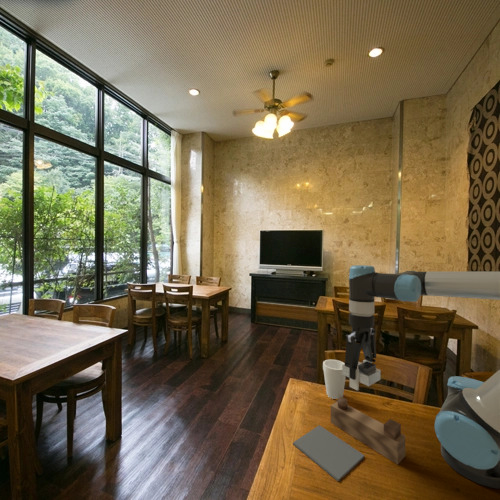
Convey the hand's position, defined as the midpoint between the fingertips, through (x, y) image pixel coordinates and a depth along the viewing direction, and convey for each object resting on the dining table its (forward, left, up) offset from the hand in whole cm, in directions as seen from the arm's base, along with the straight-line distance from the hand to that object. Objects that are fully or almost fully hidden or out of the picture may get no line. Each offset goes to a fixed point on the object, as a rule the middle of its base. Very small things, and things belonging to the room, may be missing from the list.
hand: (360, 384), depth 81 cm
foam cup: (+19, -14, -17) cm, 30 cm away
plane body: (-1, -1, -17) cm, 17 cm away
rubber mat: (+3, +13, -17) cm, 22 cm away
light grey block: (0, 0, +2) cm, 2 cm away
